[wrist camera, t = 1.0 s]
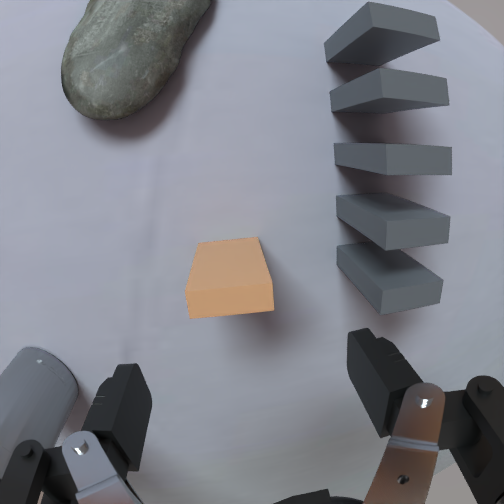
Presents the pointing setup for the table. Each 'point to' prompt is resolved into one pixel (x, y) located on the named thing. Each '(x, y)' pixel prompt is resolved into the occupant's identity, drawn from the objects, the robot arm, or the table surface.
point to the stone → (125, 53)
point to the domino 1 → (229, 279)
